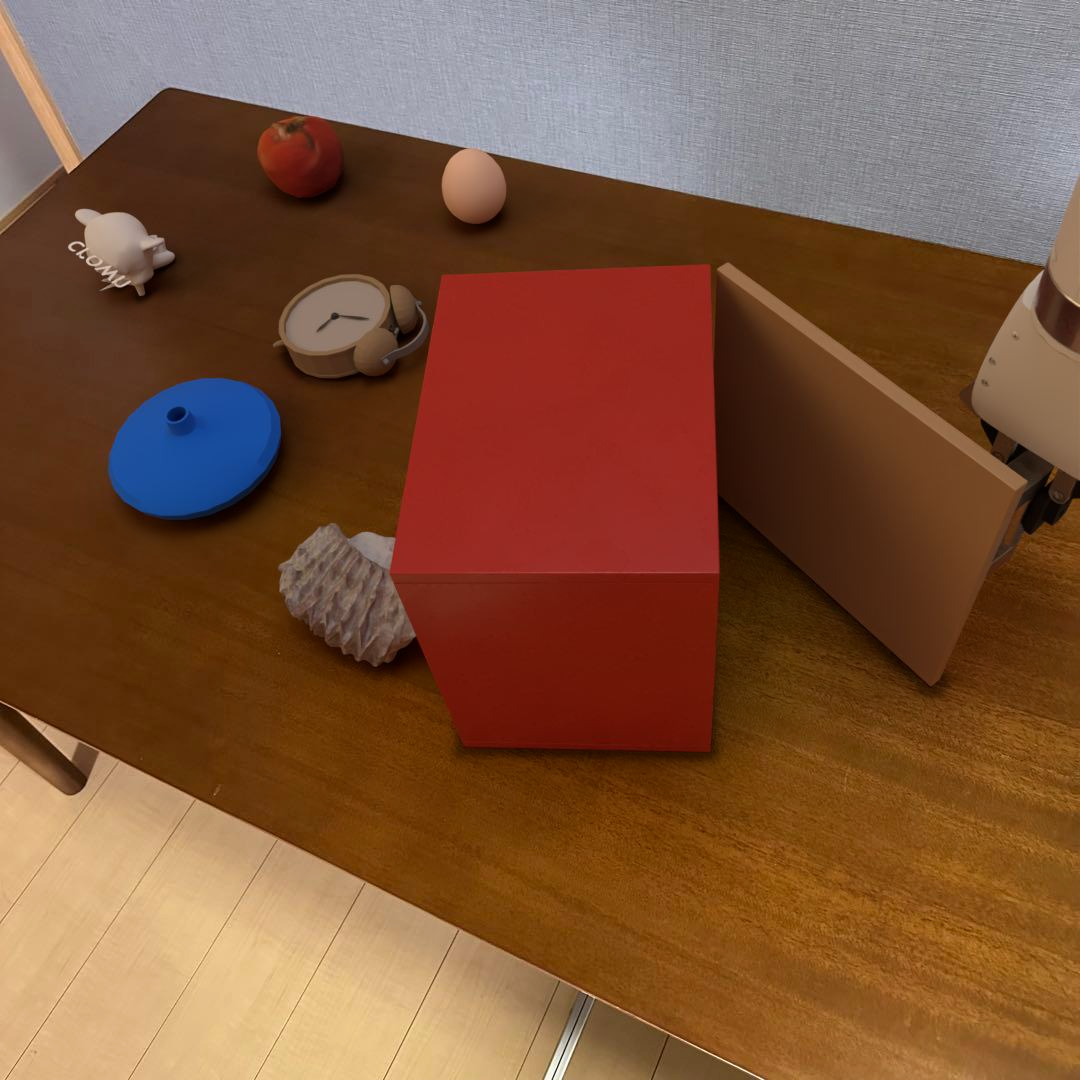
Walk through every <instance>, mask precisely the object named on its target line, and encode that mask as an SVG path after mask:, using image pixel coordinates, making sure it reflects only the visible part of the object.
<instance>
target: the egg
mask: <svg viewBox="0 0 1080 1080" xmlns="http://www.w3.org/2000/svg"><path fill="white" fill-rule="evenodd" d="M441 192H442V199H443V201H444V204H445V206H446V208H447V209H448V211H449V212H450V213H451V214H452V215H453V216H454V217H456V218H457V219H459V220H460V221H462V222H464V223H467V224H473V225H480V224H484V223H486V222H488V221H491V220H492V219H494V218H495V217H496V216H497V215H498V214H499V213H500V211H501V210H502V208H503V207H504V204H505V201H506V198H507V183H506V179H505V175H504V173H503V171H502V169H501V167H500V165H499V164H498V163H497V162H496V160H495V159H494V158H493V157H492V156H491V155H490V154H489V153H487V152H486V151H483V150H481V149H478V148H473V147H472V148H470V147H469V148H464V149H461V150H459V151H457V152H456V153H455V154H453V155H452V157H450V159H449V161H448V162H447V164H446V166H445V168H444V172H443V175H442V178H441Z"/></svg>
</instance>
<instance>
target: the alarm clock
mask: <svg viewBox="0 0 1080 1080" xmlns="http://www.w3.org/2000/svg"><path fill="white" fill-rule="evenodd" d="M422 306H423V304H422V301H420V300H417V298H414V295H413V294H412V293H411V291H410V290H409V289H408V288H407V287H406V286H403V285H400V284H392V285H390V287H389V291H388V289H387V288H386V286H385V284H384V283H382V282H380V281H379V280H378V279H376V278H374V277H372V276H369V275H364V274H359V273H351V274H349V273H348V274H339V275H335V276H331V277H327V278H323V279H321V280H319V281H317V282H315V283H313V284H310V285H308V286H307V287H305V288H304V289H303V290H301V291H300V292H299V293H297V294H296V295H295V296H294V297H293V298H292V299H291V300H290V301H289V302H288V303H287V305H286V306H285V307H284V308H283V311H282V313H281V315H280V318H279V320H278V335H279V336H280V338H281V339H279V340H277V341H275V342H274V343H273V344H272V347H273V348H274V349H278V348H282V347H286V349H287V352H288V353H289V356H290V358H291V359H292V362H293V363H294V365H295V367H296V368H297V369H299V370H300V371H301V372H302V373H304V374H305V375H308V376H312V377H315V378H318V379H339V378H343V377H347V376H351V375H355V374H357V373H361V374H364V375H365V376H369V377H378V376H382V375H384V374H386V373H388V372H389V371H390V370H391V369H392V368H393V367H394V365H395V363H396V362H397V360H398V359H401V358H403V357H407V356H408V355H410V354H412V353H413V352H415V351H416V350H418V349H419V348H420V346H421V345H422V344H423V343H424V341H425V340H426V339H427V337H428V333H429V328H430V325H429V321H428V318H427V316H426V314H425V312H424V311H423V310H422V308H421V307H422ZM419 316H420V317H421V318H422V319H423V322H422V327H421V329H420V331H419V332H418V334H417V336H415V337H414V338H413V339H412V341H410V342H408V343H407V344H405V345H403V346H401V347H399V343H398V340H397V339H398V336H399V333H400V331H401V333H402V334H403V335H406V334H408V333H410V332H411V331H413V330H414V329H415V327H416V325H417V323H418V318H419Z"/></svg>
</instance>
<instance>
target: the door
mask: <svg viewBox="0 0 1080 1080" xmlns="http://www.w3.org/2000/svg"><path fill="white" fill-rule="evenodd" d="M715 283H716V285H715V308H714V309H715V314H714V337H713V361H714V393H715V425H716V458H717V490H718V497H720V498H721V499H722V500H723V501H725V502H726V503H727V504H728V505H729V506H730V507H731V508H732V509H734V510H735V511H736V512H737V513H738V514H739V515H740V516H741V517H742V518H743V519H745V520H746V521H747V522H748V523H749V524H750V525H751V526H753V528H755V529H756V530H757V531H758V532H759V533H760V534H761V535H763V537H765V538H766V539H767V541H769V542H770V543H771V544H772V545H773V546H774V547H775V548H777V549H778V550H779V551H780V552H781V554H783V555H784V556H785V557H787V559H789V560H790V561H791V562H792V563H793V564H794V565H795V566H796V567H798V568H799V569H800V570H801V571H802V572H803V573H804V574H805V575H806V576H807V577H809V578H810V579H811V580H812V581H813V582H814V583H815V584H816V585H818V586H819V587H820V588H821V589H822V590H823V591H824V592H825V593H826V594H827V595H828V596H830V597H831V598H832V599H833V600H834V601H835V602H836V603H838V604H839V605H840V606H841V607H842V609H844V610H845V611H847V612H848V614H850V615H851V616H852V617H853V618H854V619H855V620H856V621H858V623H859V624H861V626H863V627H864V628H865V629H866V630H867V631H868V632H869V633H871V634H872V635H873V636H874V637H875V638H876V639H877V640H878V641H880V642H881V643H882V645H884V646H885V647H886V648H887V649H888V650H889V651H890V652H892V654H894V655H895V656H896V657H897V658H898V659H899V660H900V661H902V662H903V663H904V664H905V665H906V666H907V667H908V668H909V669H910V670H911V671H913V672H914V674H916V675H917V676H918V677H919V678H920V679H921V680H922V681H924V682H925V683H926V684H927V685H928V686H929V687H933V686H934V685H935V684H936V683H937V682H939V681H940V680H941V679H942V676H943V673H944V672H945V669H946V667H947V664H948V663H949V659H950V657H951V655H952V653H953V651H954V649H955V646H956V644H957V642H958V640H959V638H960V636H961V633H962V631H963V628H964V626H965V625H966V622H967V619H968V618H969V615H970V613H971V611H972V609H973V606H974V604H975V601H976V598H977V597H978V595H979V593H980V591H981V588H982V586H983V585H984V581H985V580H986V579H987V578H988V577H990V576H991V575H992V574H994V573H995V572H997V570H999V569H1001V567H1003V566H1004V565H1006V563H1008V562H1009V561H1010V560H1011V559H1012V558H1013V555H1014V553H1015V551H1016V549H1017V547H1018V545H1019V542H1020V541H1021V538H1022V536H1023V535H1024V532H1025V531H1023V529H1024V528H1023V527H1022V525H1023V523H1024V521H1025V519H1026V517H1027V515H1028V513H1029V510H1030V508H1031V506H1032V504H1033V502H1034V500H1035V497H1036V496H1037V494H1038V493H1039V492H1040V491H1041V490H1042V489H1043V488H1044V487H1045V486H1046V485H1047V484H1048V481H1049V479H1050V476H1051V474H1052V473H1053V470H1054V468H1055V466H1054V465H1053V464H1051V463H1049V462H1048V461H1046V460H1045V459H1043V458H1041V457H1040V456H1038V455H1036V454H1035V453H1033V452H1032V451H1030V450H1027V451H1025V452H1024V453H1022V454H1021V455H1019V456H1018V457H1017V458H1015V459H1014V460H1013V461H1011V462H1010V463H1009V464H1008V465H1005V464H1004V463H1002V462H1001V461H1000V460H998V459H997V458H995V457H994V456H993V455H991V454H990V451H988V450H986V449H985V448H983V447H982V446H980V445H979V444H978V443H977V442H975V441H973V440H972V439H970V438H969V436H967V435H965V434H964V433H962V432H961V431H960V430H959V429H957V428H956V427H954V425H952V424H951V423H949V422H947V421H946V420H945V419H943V418H942V417H941V416H940V415H938V414H937V413H935V412H934V411H933V410H931V409H930V408H929V407H927V406H925V404H923V403H922V402H920V401H919V400H918V399H916V398H915V397H914V396H912V395H911V394H910V393H908V392H906V391H905V390H904V389H903V388H901V387H900V386H898V385H897V384H896V383H894V382H893V381H892V380H890V379H889V378H887V377H886V376H885V375H884V374H882V373H880V372H879V371H878V370H876V369H875V368H874V367H872V366H871V365H869V363H867V362H866V361H864V360H863V359H861V358H860V357H859V356H857V355H856V354H854V353H853V352H851V351H850V350H849V349H847V348H846V347H845V346H844V345H843V344H841V343H840V342H838V340H837V341H836V340H835V339H834V338H832V337H831V336H830V335H828V334H827V333H825V331H823V330H822V329H820V328H819V327H818V326H816V325H815V324H813V323H812V322H811V321H809V320H808V319H807V318H805V317H804V316H803V315H802V314H800V313H799V312H797V311H795V310H794V309H793V308H792V307H790V306H789V305H787V304H786V303H784V302H783V301H782V300H781V299H779V298H778V297H776V296H775V295H774V294H772V293H771V292H770V291H768V290H767V289H766V288H764V287H763V286H762V285H760V284H759V283H757V282H756V281H754V280H753V279H751V278H750V277H749V276H747V274H745V273H744V272H742V271H741V270H740V269H738V268H737V267H735V266H734V265H733V264H731V263H730V262H726V263H724V264H723V265H720V266H719V267H718V268H717V269H716V280H715Z"/></svg>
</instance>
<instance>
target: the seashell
mask: <svg viewBox="0 0 1080 1080" xmlns="http://www.w3.org/2000/svg"><path fill="white" fill-rule="evenodd" d="M395 538H396V537H392V536H391V537H390V536H383V535H380V534H377V533H375V532H371V531H362V532H359V533H357V534H356V535H354V536H352V537H351V538H349V537H346V535H345V534H344V533H343V532H342V530H341V527H340V526H338V525H337V524H336V522H334V523H332V522H330V524H328V525H326V526H320V525H319V526H318V527H317V529H316V530H315V531H314V532H313V533H312V534H311V535H310V536H308V537H307V539H305V540H304V541H303V542H302V543H299V544H298V546H297V547H296V549H295V551H294V553H293V554H292V555H291V557H290V558H289V559H288V560H286V561H284V562H282V563H280V564H279V565H278V567H277V569H278V570H279V572H281V575H280V577H279V590H278V591H279V593H280V594H281V597H282V598H283V599H284V603H285V606H286V608H287V610H288V611H289V613H290V615H291V616H292V617H293V618H295V619H297V620H298V622H301V621H304V623H305V625H309V631H310V632H311V631H313V634H314V636H319V637H320V638H324V642H325V643H326V645H328V646H329V647H331V648H340V650H341V654H343V655H344V656H345V655H353V658H354V660H355V661H356V662H361V661H366V662H368V663H370V664H371V665H372V667H378V666H380V665H381V664H382V663H387V664H388V663H390V662H392V661H393V660H394V659H395V657H396V655H397V653H398V652H399V650H401V649H404V648H406V647H408V645H410V643H411V642H413V640H414V639H415V638H417V637H416V635H415V632H414V630H413V628H412V625H411V623H410V621H409V618H408V616H407V614H406V611H405V609H404V607H403V604H402V602H401V600H400V598H399V595H398V593H397V591H396V588H395V586H394V584H393V581H392V579H391V576H390V574H389V572H390V566H391V561H392V555H393V549H394V544H395Z"/></svg>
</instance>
